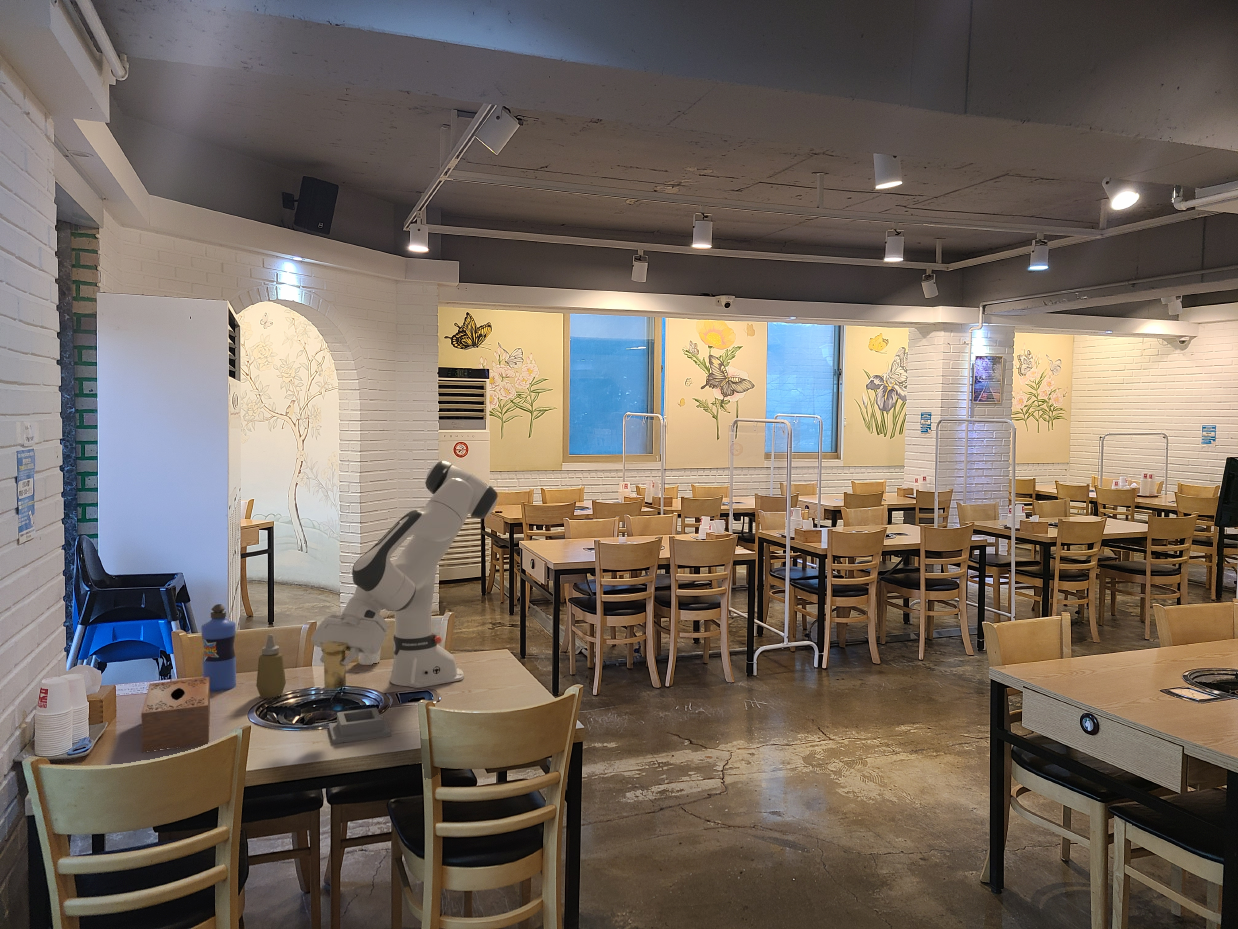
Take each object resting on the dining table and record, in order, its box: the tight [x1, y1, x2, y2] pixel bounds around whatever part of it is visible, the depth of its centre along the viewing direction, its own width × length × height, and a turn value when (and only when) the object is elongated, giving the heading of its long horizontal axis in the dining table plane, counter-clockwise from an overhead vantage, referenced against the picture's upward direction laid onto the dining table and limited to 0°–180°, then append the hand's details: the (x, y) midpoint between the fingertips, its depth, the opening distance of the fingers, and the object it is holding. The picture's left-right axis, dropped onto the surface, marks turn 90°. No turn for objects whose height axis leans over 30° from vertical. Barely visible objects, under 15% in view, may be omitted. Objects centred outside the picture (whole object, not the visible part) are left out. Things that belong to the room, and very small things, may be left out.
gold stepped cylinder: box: [320, 641, 348, 690], centre depth 217 cm, size 6×6×11 cm
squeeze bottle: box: [255, 634, 287, 699], centre depth 247 cm, size 8×8×18 cm
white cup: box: [357, 647, 382, 666], centre depth 283 cm, size 8×8×10 cm
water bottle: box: [200, 603, 237, 693], centre depth 255 cm, size 9×9×25 cm
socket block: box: [328, 707, 392, 745], centre depth 219 cm, size 14×12×4 cm
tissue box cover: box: [141, 677, 211, 753], centre depth 219 cm, size 26×14×10 cm, turn 25°
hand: (333, 663), depth 217 cm, fingers closed on gold stepped cylinder, 5 cm apart
